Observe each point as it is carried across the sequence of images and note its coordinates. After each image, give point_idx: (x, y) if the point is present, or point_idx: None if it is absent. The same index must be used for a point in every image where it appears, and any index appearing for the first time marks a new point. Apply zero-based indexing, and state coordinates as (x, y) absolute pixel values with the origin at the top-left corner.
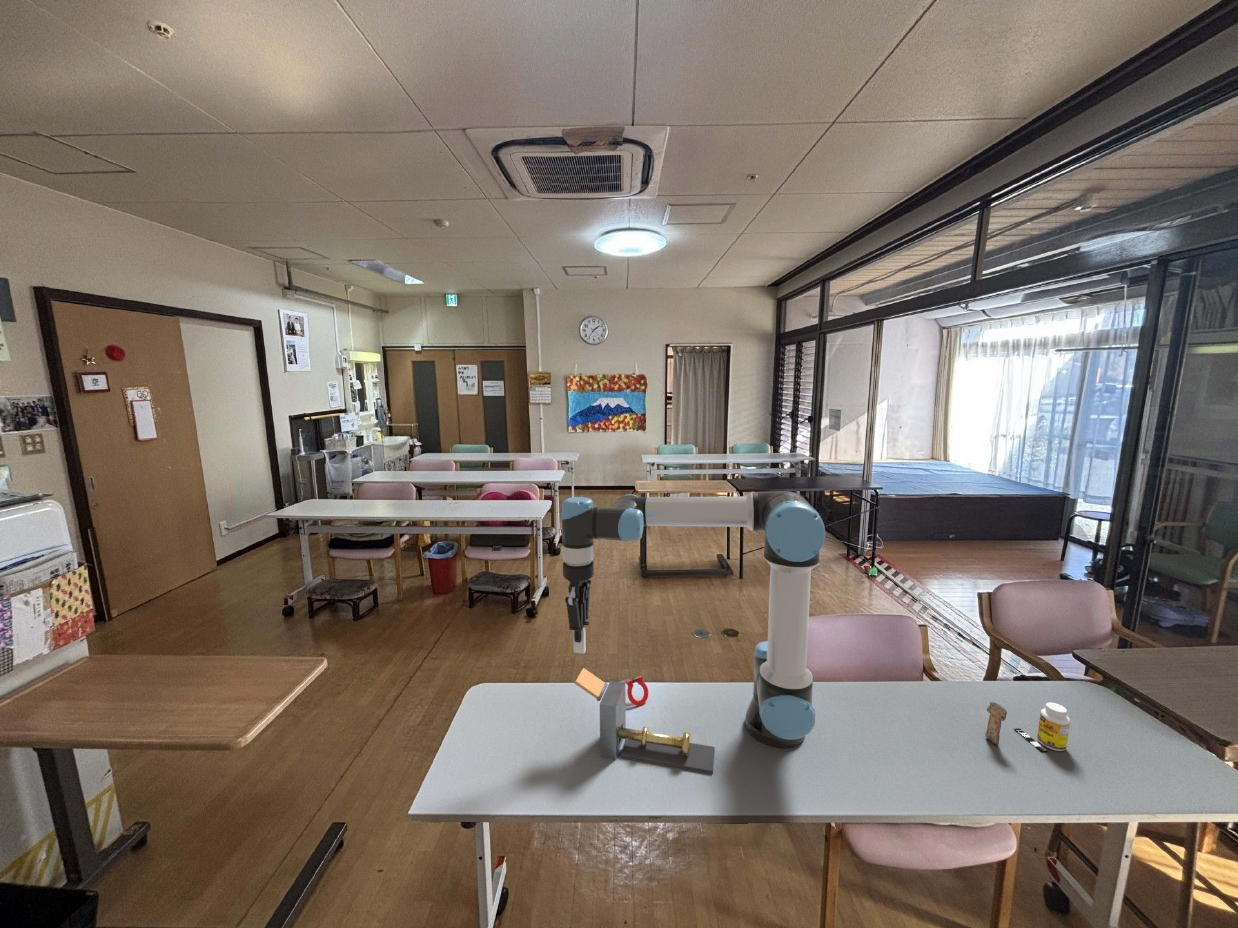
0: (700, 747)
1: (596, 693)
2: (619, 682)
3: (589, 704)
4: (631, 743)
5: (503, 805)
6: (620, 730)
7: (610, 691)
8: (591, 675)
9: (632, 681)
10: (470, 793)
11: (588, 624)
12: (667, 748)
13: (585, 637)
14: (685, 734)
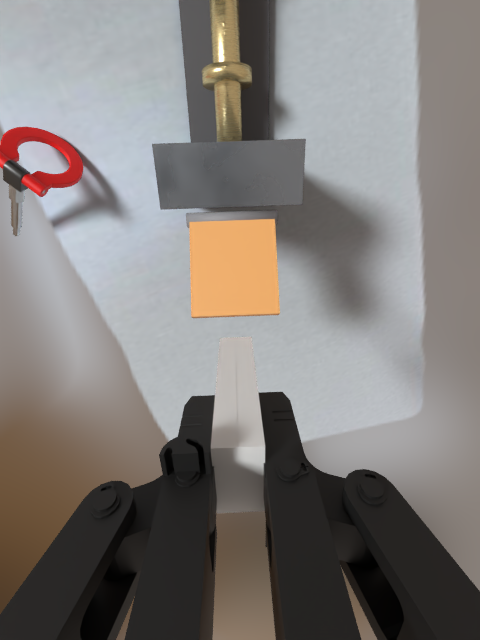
0: None
1: (266, 230)
2: (159, 170)
3: (125, 278)
4: None
5: (410, 322)
6: None
7: (222, 188)
8: (201, 276)
9: (28, 174)
10: (390, 375)
11: (184, 439)
12: None
13: (219, 383)
14: None
